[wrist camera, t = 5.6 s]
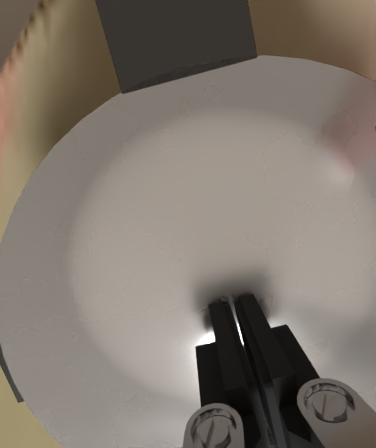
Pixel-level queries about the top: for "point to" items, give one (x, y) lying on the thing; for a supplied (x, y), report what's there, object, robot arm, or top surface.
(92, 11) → the top surface
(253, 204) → the cooker lid
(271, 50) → the top surface
